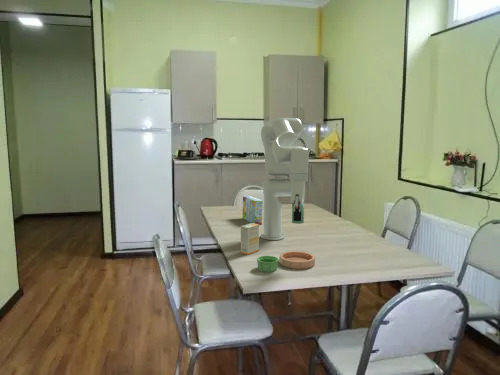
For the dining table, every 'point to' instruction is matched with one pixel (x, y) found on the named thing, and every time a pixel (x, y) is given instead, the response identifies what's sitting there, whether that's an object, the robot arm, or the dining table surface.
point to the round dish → (297, 260)
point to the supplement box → (249, 238)
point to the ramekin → (267, 263)
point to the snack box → (252, 209)
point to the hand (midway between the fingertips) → (297, 219)
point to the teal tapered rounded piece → (301, 214)
